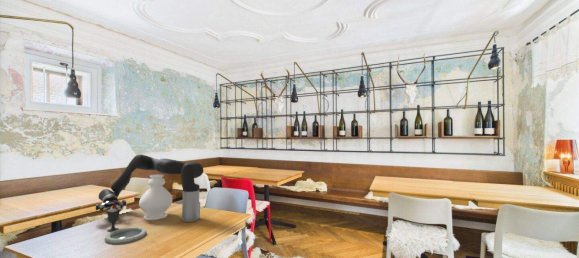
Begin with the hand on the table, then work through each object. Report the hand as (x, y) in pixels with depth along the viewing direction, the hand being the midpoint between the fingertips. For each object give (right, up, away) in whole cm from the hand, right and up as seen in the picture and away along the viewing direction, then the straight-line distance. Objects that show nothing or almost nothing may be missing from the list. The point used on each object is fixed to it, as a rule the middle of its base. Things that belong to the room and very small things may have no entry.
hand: (112, 207), depth 137 cm
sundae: (+7, -9, -9) cm, 14 cm away
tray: (+19, -9, -16) cm, 26 cm away
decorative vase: (+17, -10, +13) cm, 24 cm away
